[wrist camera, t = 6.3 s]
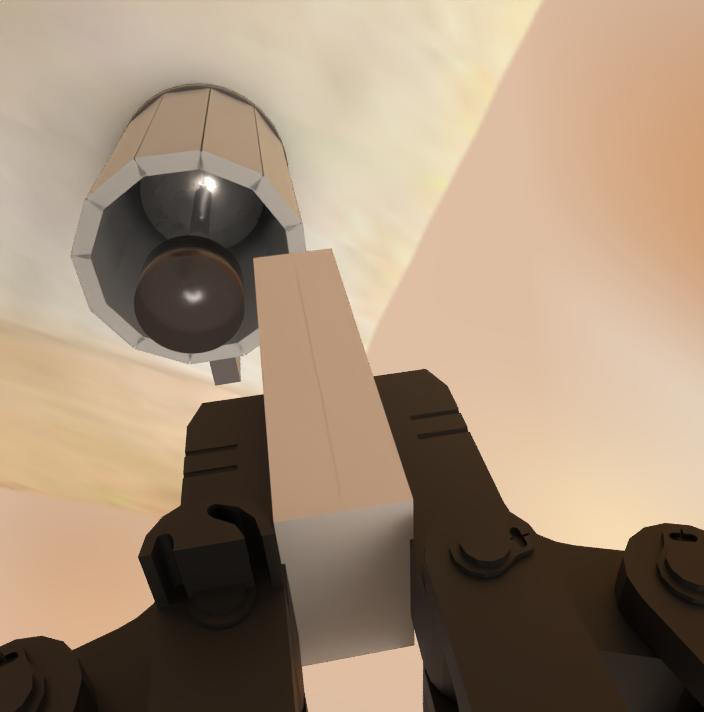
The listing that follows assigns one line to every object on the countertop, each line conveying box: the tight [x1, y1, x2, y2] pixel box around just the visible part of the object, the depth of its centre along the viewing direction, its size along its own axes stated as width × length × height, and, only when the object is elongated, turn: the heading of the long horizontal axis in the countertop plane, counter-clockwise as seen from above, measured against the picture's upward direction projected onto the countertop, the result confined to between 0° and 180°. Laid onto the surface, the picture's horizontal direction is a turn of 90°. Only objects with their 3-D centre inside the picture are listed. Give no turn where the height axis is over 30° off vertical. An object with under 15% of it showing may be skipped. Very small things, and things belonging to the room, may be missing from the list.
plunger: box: [134, 169, 263, 354], centre depth 32 cm, size 7×7×15 cm
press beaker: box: [71, 84, 306, 385], centre depth 37 cm, size 13×11×15 cm
